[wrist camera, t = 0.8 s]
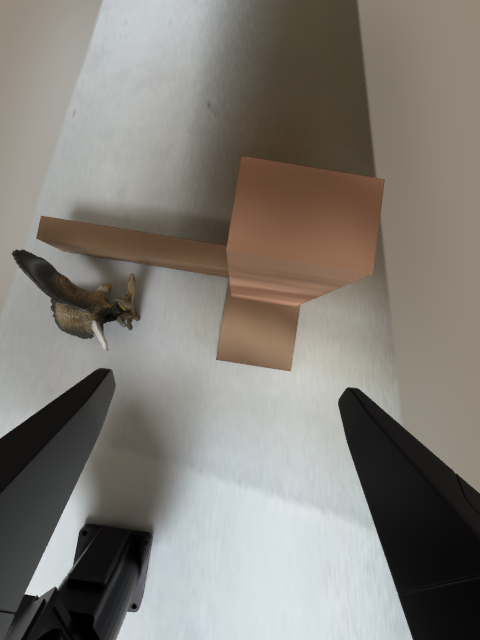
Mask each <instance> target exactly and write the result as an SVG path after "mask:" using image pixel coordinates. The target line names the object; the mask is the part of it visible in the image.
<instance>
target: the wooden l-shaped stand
mask: <svg viewBox="0 0 480 640" xmlns="http://www.w3.org/2000/svg"><path fill="white" fill-rule="evenodd" d="M384 181H385V180H384V179H378V178H372V177H366V176H360V175H354V174H348V173H342V172H336V171H330V170H324V169H318V168H312V167H306V166H300V165H294V164H288V163H282V162H276V161H270V160H264V159H258V158H252V157H246V156H241V162H240V168H239V174H238V181H237V187H236V193H235V199H234V205H233V211H232V217H231V223H230V230H229V236H228V242H227V246H226V245H219V244H213V243H207V242H201V241H195V240H188V239H182V238H176V237H170V236H164V235H157V234H151V233H145V232H139V231H132V230H126V229H120V228H114V227H108V226H101V225H95V224H89V223H83V222H77V221H70V220H64V219H58V218H52V217H46V216H41V219H40V223H39V228H38V233H37V238H36V239H38V240H41V241H43V242H45V243H47V244H49V245H51V246H53V247H56V248H58V249H60V250H62V251H65V252H71V253H78V254H84V255H90V256H96V257H103V258H109V259H115V260H121V261H128V262H134V263H140V264H147V265H153V266H159V267H165V268H172V269H178V270H184V271H190V272H197V273H203V274H209V275H215V276H222V277H228V278H229V283H228V289H227V295H226V301H225V308H224V314H223V320H222V326H221V332H220V339H219V345H218V351H217V357H216V360H221V361H228V362H234V363H240V364H247V365H253V366H260V367H266V368H273V369H279V370H286V371H291V366H292V359H293V352H294V345H295V338H296V331H297V324H298V317H299V310H300V304H303V303H305V302H307V301H310V300H312V299H314V298H317V297H319V296H321V295H324V294H326V293H329V292H331V291H333V290H336V289H338V288H340V287H343V286H345V285H347V284H350V283H352V282H355V281H357V280H359V279H362V278H364V277H366V276H369V275H371V274H373V269H374V261H375V253H376V245H377V237H378V229H379V221H380V213H381V205H382V197H383V189H384Z"/></svg>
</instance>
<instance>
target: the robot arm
mask: <svg viewBox="0 0 480 640" xmlns="http://www.w3.org/2000/svg"><path fill="white" fill-rule="evenodd" d="M114 391H115V380H114V375H113V371H112V370H111V369H105V368H99V369H97V370H95V371H94V372H93V373H91V374H90V375H88V376H87V377H86V378H84V379H83V380H81V381H80V382H79V383H77V384H76V385H74V386H73V387H72V388H70V389H69V390H67V391H66V392H65V393H63V394H62V395H60V396H59V397H58V398H56V399H55V400H53V401H52V402H51V403H49V404H48V405H47V406H45V407H44V408H42V409H41V410H40V411H38V412H37V413H35V414H34V415H33V416H31V417H30V418H28V419H27V420H26V421H24V422H23V423H21V424H20V425H19V426H17V427H16V428H14V429H13V430H12V431H10V432H9V433H7V434H6V435H5V436H3V437H2V438H1V439H0V640H116V639H117V636H118V634H119V631H120V628H121V626H122V623H123V621H124V618H125V616H126V613H127V611H128V612H136V611H138V610H139V608H140V605H141V602H142V597H143V591H144V585H145V579H146V573H147V567H148V561H149V555H150V549H151V543H152V535H151V534H150V533H148V532H142V531H135V530H128V529H121V528H114V527H107V526H101V525H94V524H85V525H84V526H83V527H82V529H81V530H80V532H79V537H78V542H77V547H76V553H75V558H74V563H73V567H72V569H71V570H70V572H69V573H68V574H67V576H66V577H65V579H64V580H63V582H62V583H61V584H60V586H59V587H58V589H57V588H56V587H54V588H52V589H51V590H49V591H48V592H46V593H45V594H44V595H42V596H41V597H38V595H37V596H31V595H26V594H25V592H26V589H27V587H28V585H29V583H30V581H31V579H32V577H33V575H34V572H35V570H36V568H37V566H38V564H39V562H40V560H41V557H42V555H43V553H44V551H45V549H46V547H47V545H48V543H49V540H50V538H51V536H52V534H53V532H54V530H55V528H56V526H57V523H58V521H59V519H60V517H61V515H62V513H63V511H64V509H65V506H66V504H67V502H68V500H69V498H70V496H71V494H72V491H73V489H74V487H75V485H76V483H77V481H78V479H79V477H80V474H81V472H82V470H83V468H84V466H85V464H86V462H87V460H88V457H89V455H90V453H91V451H92V449H93V447H94V445H95V443H96V440H97V438H98V436H99V434H100V431H101V428H102V426H103V423H104V420H105V417H106V414H107V411H108V408H109V405H110V403H111V400H112V397H113V394H114ZM338 406H339V410H340V414H341V419H342V423H343V427H344V432H345V436H346V440H347V443H348V447H349V450H350V453H351V456H352V459H353V462H354V465H355V468H356V471H357V474H358V477H359V480H360V483H361V486H362V489H363V492H364V495H365V498H366V501H367V503H368V506H369V509H370V512H371V515H372V518H373V521H374V524H375V527H376V530H377V533H378V536H379V539H380V542H381V545H382V548H383V551H384V554H385V557H386V560H387V563H388V566H389V569H390V572H391V575H392V578H393V581H394V584H395V587H396V590H397V592H398V596H399V599H400V602H401V605H402V608H403V611H404V614H405V617H406V620H407V623H408V626H409V629H410V632H411V635H412V638H413V640H480V493H479V492H477V491H476V490H475V489H474V488H473V487H471V486H470V485H469V484H468V483H467V482H466V481H464V480H463V479H462V478H461V477H460V476H459V475H458V474H455V473H454V471H453V470H452V469H450V468H449V467H448V466H447V465H446V464H445V463H444V462H443V461H441V460H440V459H439V458H438V457H437V456H435V455H434V454H433V453H432V452H431V451H430V450H429V449H428V448H426V447H425V446H424V445H423V444H422V443H420V442H419V441H418V440H417V439H416V438H415V437H414V436H413V435H411V434H410V433H409V432H408V431H407V430H405V429H404V428H403V427H402V426H401V425H400V424H399V423H398V422H396V421H395V420H394V419H393V418H392V417H391V416H390V415H388V414H387V413H386V412H385V411H384V410H383V409H381V408H380V407H379V406H378V405H377V404H376V403H375V402H373V401H372V400H371V399H370V398H369V397H368V396H366V395H365V394H364V393H363V392H362V391H361V390H359V389H358V388H351V387H348V388H346V389H345V391H344V392H343V394H342V395H341V397H340V398H339V401H338ZM85 530H86V531H87V532H86V531H85ZM144 539H146V540H148V541H145V540H144ZM24 594H25V595H24Z"/></svg>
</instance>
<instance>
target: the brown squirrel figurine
mask: <svg viewBox="0 0 480 640" xmlns="http://www.w3.org/2000/svg"><path fill="white" fill-rule="evenodd" d="M12 255H13V257H14V259H15V260H16V263H17V264H18V265H19V267H20V268H21V269H22V271H23V272H24V273H25V274H26V275H27V276H28V277H29V278H30V279H31V280H32V281H33V282H34V283H35V284H36V285H37V286H38V287H39V288H40V289H41V290H42V291H43V292H44V293H45V294H46V295H48V296H49V297H50V298H52V299H51V303H52V306H51V310H52V311H53V312H54V314H53V317H54V318H55V322H56V324H57V325H58V326H59V328H60V329H61V330H62V331H63V332H64V331H65V332H66V333H68V334H71V335H74V336H78V337H79V338H82V339H88V338H90V339H91V338H92V337H94V336H93V334H96V336H97V338H98V339H99V341H100V343H101V344H102V346H103V348H104V350H105V351H108V347H107V341H106V339H105V337H104V333H103V324H104V323H106V322H111V321H115V320H117V322H119V323H120V324H121V325H122V326H123V327H126V326H127V327H128V329H129V330H132V328H133V327H132V325H131V322H132V319H134V320H136V321H139V320H140V318H139V317H138V316H137V315H136V312H135V307H134V300H135V278H134V274H131V275H130V278H129V282H128V289H127V290H128V293H127V295H126V296H125V297H124V298H121V299H119V298H115V299H116V301H117V302H114V303H109V296H108V291H109V288H110V286H111V284H107V285H103V284H102V285H100V286H99V287H98V288H97V290H96V291H93V292H89V291H86V290H83V289H80V288H79V287H77V286H75V285H74V284H73V283H72V282H71V281H70V280H69V279H68V278H67V277H65V276H64V275H62V274H60V273H59V272H57V270H56V269H55V268H54V267H53V266H52V265H51V264H50V263H49V262H47V261H46V260H45V259H43V258H41V257H37V256H36V255H34V254H32V253H29V252H27V251H25V250H20V251H19V250H15V251H13V253H12ZM125 319H127V325H126V323H125V322H124V321H125Z"/></svg>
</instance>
